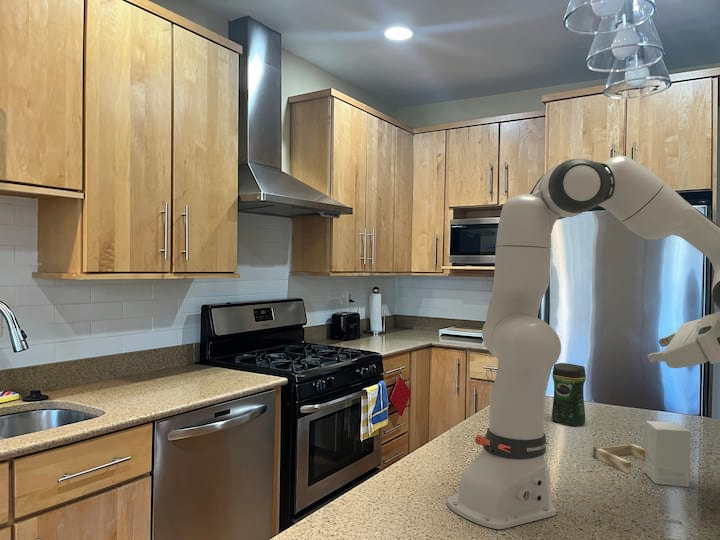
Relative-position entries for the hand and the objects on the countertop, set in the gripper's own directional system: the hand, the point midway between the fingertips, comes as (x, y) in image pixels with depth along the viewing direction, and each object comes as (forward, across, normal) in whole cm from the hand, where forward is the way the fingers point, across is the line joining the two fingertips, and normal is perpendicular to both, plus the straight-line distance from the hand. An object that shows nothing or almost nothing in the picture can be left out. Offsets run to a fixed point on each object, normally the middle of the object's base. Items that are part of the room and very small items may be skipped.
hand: (654, 350), depth 124 cm
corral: (+18, +1, +26) cm, 32 cm away
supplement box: (+9, +6, +28) cm, 30 cm away
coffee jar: (+44, -22, +22) cm, 54 cm away
